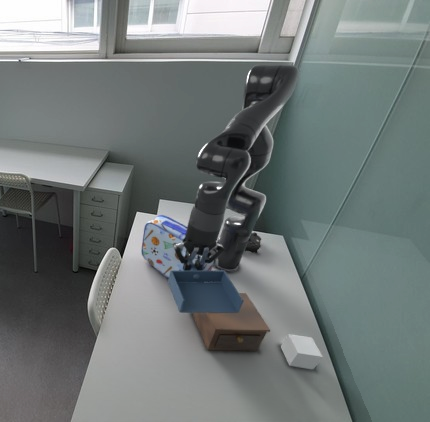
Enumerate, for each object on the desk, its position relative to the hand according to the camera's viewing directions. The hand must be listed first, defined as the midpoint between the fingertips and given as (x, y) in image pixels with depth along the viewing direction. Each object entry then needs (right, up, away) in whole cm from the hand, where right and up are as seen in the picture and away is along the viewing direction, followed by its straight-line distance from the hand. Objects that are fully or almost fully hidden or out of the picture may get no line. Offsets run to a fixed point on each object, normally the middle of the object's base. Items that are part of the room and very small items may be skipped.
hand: (190, 272), depth 86 cm
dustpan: (0, -2, -2) cm, 3 cm away
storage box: (+14, -21, +10) cm, 27 cm away
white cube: (+31, -25, +2) cm, 40 cm away
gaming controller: (+44, +2, +45) cm, 63 cm away
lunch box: (+7, -7, +32) cm, 34 cm away
